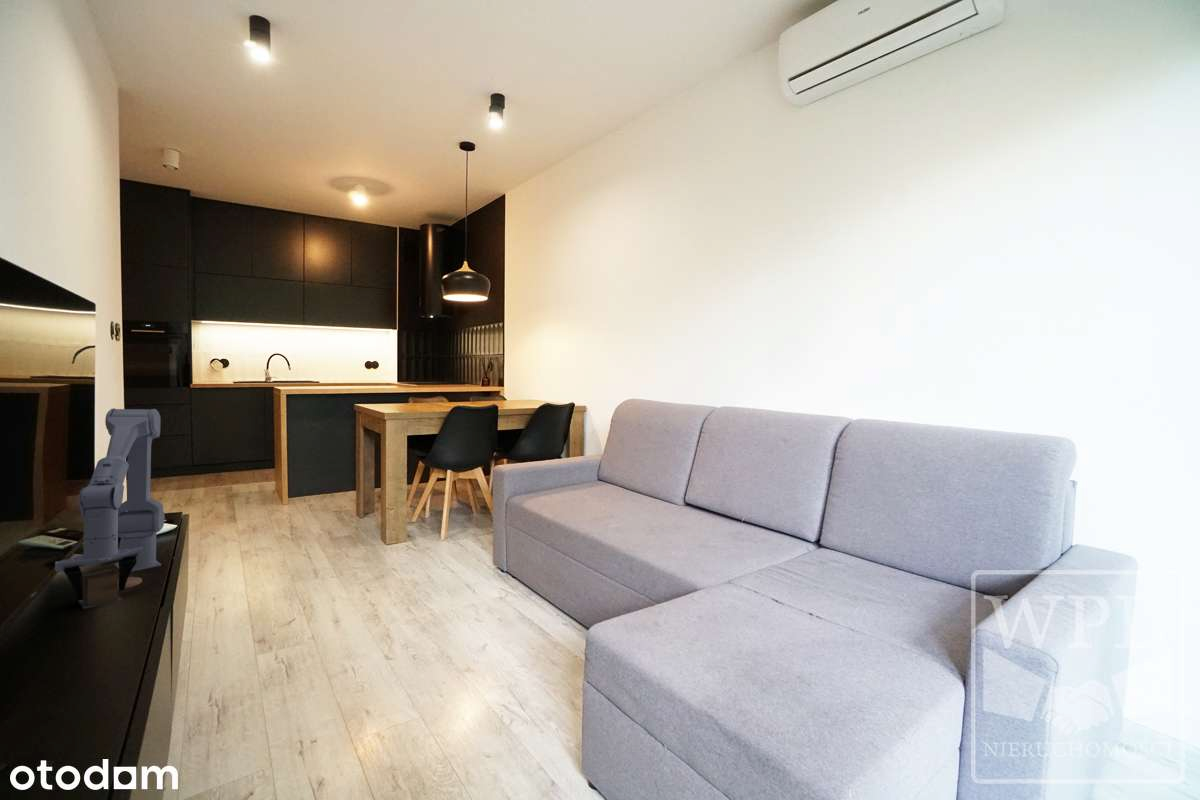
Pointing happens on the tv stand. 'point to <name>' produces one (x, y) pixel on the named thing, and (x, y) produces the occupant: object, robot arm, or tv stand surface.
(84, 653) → the tv stand surface
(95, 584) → the walnut block
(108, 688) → the tv stand surface
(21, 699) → the tv stand surface
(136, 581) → the coaster
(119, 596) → the board
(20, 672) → the tv stand surface
